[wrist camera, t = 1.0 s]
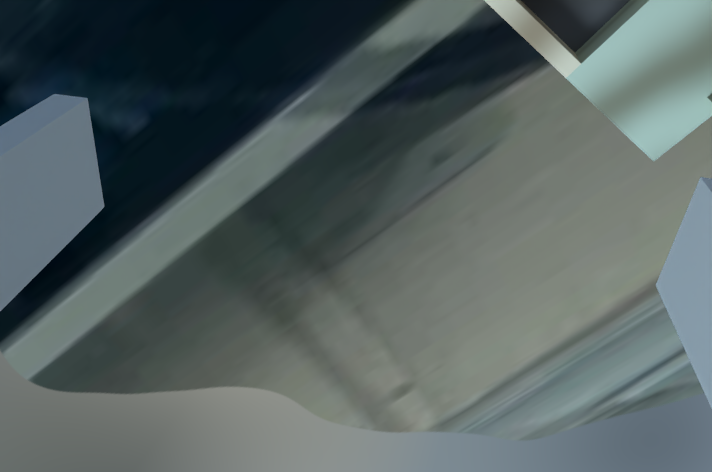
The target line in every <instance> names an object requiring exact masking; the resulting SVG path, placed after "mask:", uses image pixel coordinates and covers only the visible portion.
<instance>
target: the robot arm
mask: <svg viewBox="0 0 712 472" xmlns="http://www.w3.org/2000/svg"><path fill="white" fill-rule="evenodd" d="M103 208H104V202H103V196H102V189H101V183H100V176H99V170H98V163H97V157H96V150H95V144H94V138H93V131H92V125H91V118H90V112H89V105H88V99H87V98H81V97H74V96H66V95H58V94H54V95H52V96H50V97H49V98H47V99H45V100H44V101H42V102H40V103H39V104H37V105H35V106H34V107H32V108H30V109H29V110H27V111H25V112H24V113H22V114H20V115H19V116H17V117H15V118H14V119H12V120H10V121H9V122H7V123H5V124H4V125H2V126H0V311H1V310H2V309H3V308H4V307H5V306H6V305H7V304H8V303H9V302H10V301H11V300H12V299H13V298H14V297H15V296H16V295H17V294H18V293H19V292H20V291H21V290H22V289H23V288H24V287H25V286H26V285H27V284H28V283H29V282H30V281H31V280H32V279H33V278H34V277H35V276H36V275H37V274H38V273H39V272H40V271H41V270H42V269H43V268H44V267H45V266H46V265H47V264H48V263H49V262H50V261H51V260H52V259H53V258H54V257H55V256H56V255H57V254H58V253H59V252H60V251H61V250H62V249H63V248H64V247H65V246H66V245H67V244H68V243H69V242H70V241H71V240H72V239H73V238H74V237H75V236H76V235H77V234H78V233H79V232H80V231H81V230H82V229H83V228H84V227H85V226H86V225H87V224H88V223H89V222H90V221H91V220H92V219H93V218H94V217H95V216H96V215H97V214H98V213H99V212H100V211H101V210H102V209H103ZM656 287H657V289H658V291H659V294H660V296H661V298H662V300H663V302H664V305H665V307H666V309H667V311H668V314H669V316H670V318H671V320H672V322H673V325H674V327H675V329H676V331H677V333H678V336H679V338H680V340H681V342H682V344H683V347H684V349H685V351H686V353H687V355H688V358H689V360H690V362H691V364H692V366H693V369H694V371H695V373H696V375H697V377H698V380H699V382H700V384H701V386H702V388H703V391H704V393H705V395H706V397H707V399H708V401H709V404H710V406H711V408H712V179H711V178H703V177H700V180H699V182H698V185H697V187H696V189H695V192H694V194H693V197H692V199H691V202H690V204H689V206H688V209H687V211H686V214H685V216H684V218H683V221H682V223H681V226H680V228H679V231H678V233H677V235H676V238H675V240H674V243H673V245H672V247H671V250H670V252H669V255H668V257H667V260H666V262H665V264H664V267H663V269H662V272H661V274H660V276H659V279H658V281H657V284H656Z"/></svg>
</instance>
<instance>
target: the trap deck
mask: <svg viewBox="0 0 712 472" xmlns="http://www.w3.org/2000/svg"><path fill="white" fill-rule="evenodd" d="M484 1H486V2H487V3H488V4H489V5H490V6H491V7H492V8H493V9H494V10H495V11H496V12H497V13H498V14H499V15H500V16H501V17H502V18H503V19H504V20H505V21H507V22H508V23H509V24H510V25H511V26H512V27H513V28H514V29H515V30H516V31H517V32H518V33H519V34H520V35H521V36H522V37H523V38H524V39H525V40H526V41H528V42H529V43H530V44H531V45H532V46H533V47H534V48H535V49H536V50H537V51H538V52H539V53H540V54H541V55H542V56H543V57H544V58H545V59H546V60H548V61H549V62H550V63H551V64H552V65H553V66H554V67H555V68H556V69H557V70H558V71H559V72H560V73H561V74H562V75H563V76H564V77H565V78H566V79H567V80H569V81H570V82H571V83H572V84H573V85H574V86H575V87H576V88H577V89H578V90H579V91H580V92H581V93H582V94H583V95H584V96H585V97H586V98H587V99H588V100H590V101H591V102H592V103H593V104H594V105H595V106H596V107H597V108H598V109H599V110H600V111H601V112H602V113H603V114H604V115H605V116H606V117H607V118H608V119H609V120H611V121H612V122H613V123H614V124H615V125H616V126H617V127H618V128H619V129H620V130H621V131H622V132H623V133H624V134H625V135H626V136H627V137H628V138H629V139H631V140H632V141H633V142H634V143H635V144H636V145H637V146H638V147H639V148H640V149H641V150H642V151H643V152H644V153H645V154H646V155H647V156H648V157H649V158H650V159H652V160H653V161H655V160H656V159H657V158H659V157H660V156H661V155H662V154H664V153H665V152H666V151H668V150H669V149H670V148H671V147H673V146H674V145H675V144H676V143H678V142H679V141H680V140H681V139H683V138H684V137H685V136H687V135H688V134H689V133H690V132H692V131H693V130H694V129H695V128H697V127H698V126H699V125H701V124H702V123H703V122H704V121H706V120H707V119H708V118H709V117H711V116H712V0H484Z"/></svg>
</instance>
